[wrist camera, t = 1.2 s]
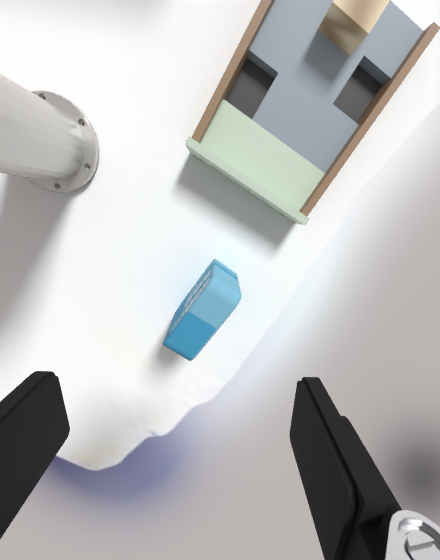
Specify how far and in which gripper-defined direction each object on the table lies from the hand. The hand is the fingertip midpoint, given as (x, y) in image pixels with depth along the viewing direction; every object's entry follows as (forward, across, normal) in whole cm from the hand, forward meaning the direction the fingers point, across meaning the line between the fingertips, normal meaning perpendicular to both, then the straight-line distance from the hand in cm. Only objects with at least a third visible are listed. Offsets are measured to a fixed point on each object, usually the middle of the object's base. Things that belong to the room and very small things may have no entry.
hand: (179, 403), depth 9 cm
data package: (+31, +1, +7) cm, 32 cm away
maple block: (+29, -16, -29) cm, 44 cm away
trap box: (+31, -12, -22) cm, 40 cm away
